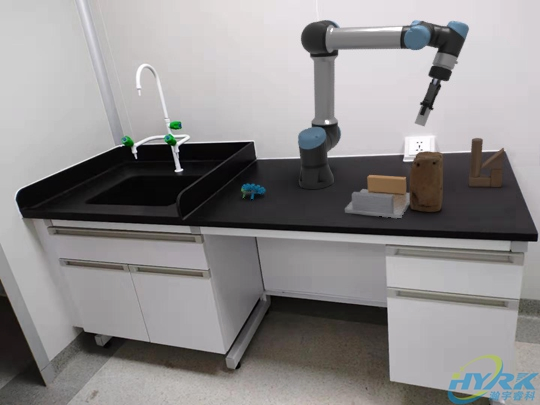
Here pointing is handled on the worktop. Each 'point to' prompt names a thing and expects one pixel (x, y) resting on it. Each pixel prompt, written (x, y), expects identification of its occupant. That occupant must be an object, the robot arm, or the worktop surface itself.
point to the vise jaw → (387, 184)
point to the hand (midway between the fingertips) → (419, 125)
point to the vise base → (397, 205)
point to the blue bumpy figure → (252, 189)
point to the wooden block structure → (485, 166)
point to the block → (426, 182)
